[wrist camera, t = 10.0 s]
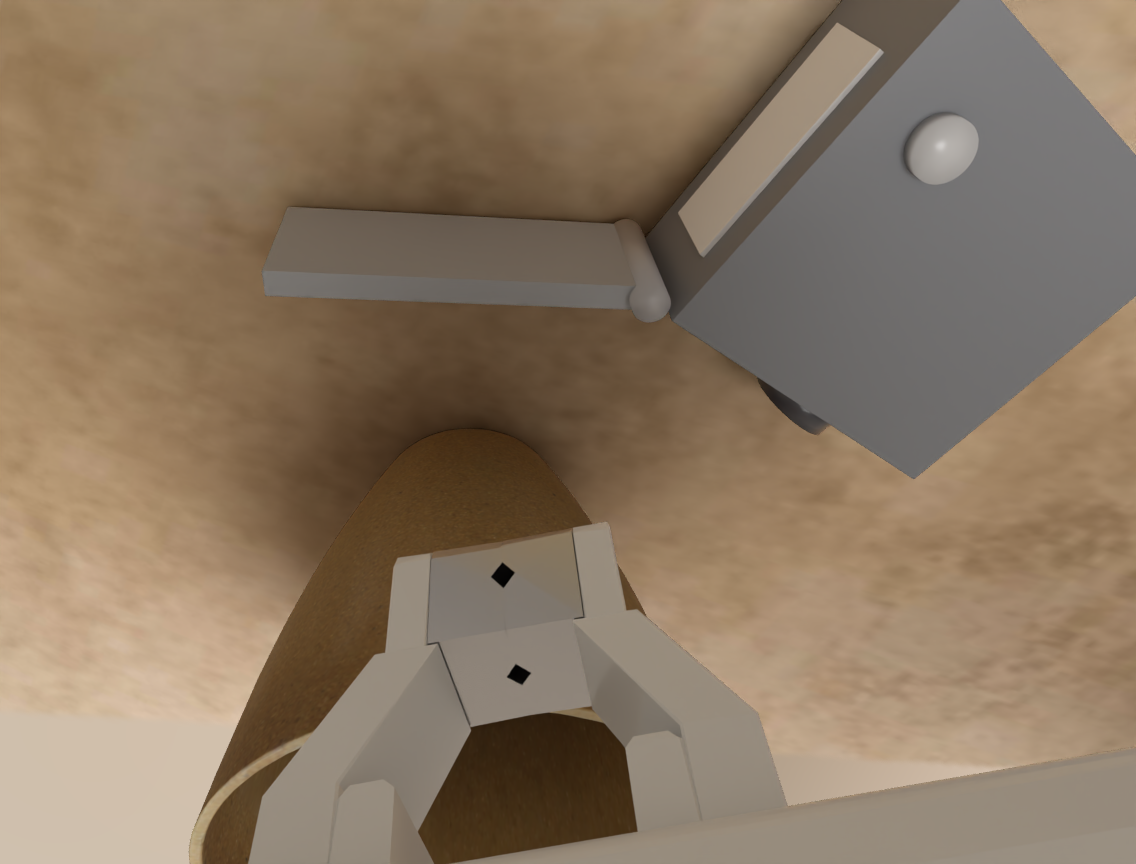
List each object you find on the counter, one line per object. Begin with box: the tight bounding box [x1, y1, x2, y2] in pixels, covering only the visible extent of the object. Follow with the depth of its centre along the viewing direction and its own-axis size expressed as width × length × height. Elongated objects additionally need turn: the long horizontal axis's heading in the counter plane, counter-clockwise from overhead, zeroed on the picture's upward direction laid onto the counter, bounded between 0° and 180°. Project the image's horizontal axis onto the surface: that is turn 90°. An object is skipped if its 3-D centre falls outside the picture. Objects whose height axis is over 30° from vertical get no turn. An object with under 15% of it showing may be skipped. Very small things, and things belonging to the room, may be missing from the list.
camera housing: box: [645, 0, 1136, 479], centre depth 28 cm, size 12×12×6 cm
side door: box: [262, 207, 671, 322], centre depth 26 cm, size 2×12×5 cm, turn 84°
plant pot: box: [189, 429, 647, 864], centre depth 30 cm, size 15×15×16 cm
